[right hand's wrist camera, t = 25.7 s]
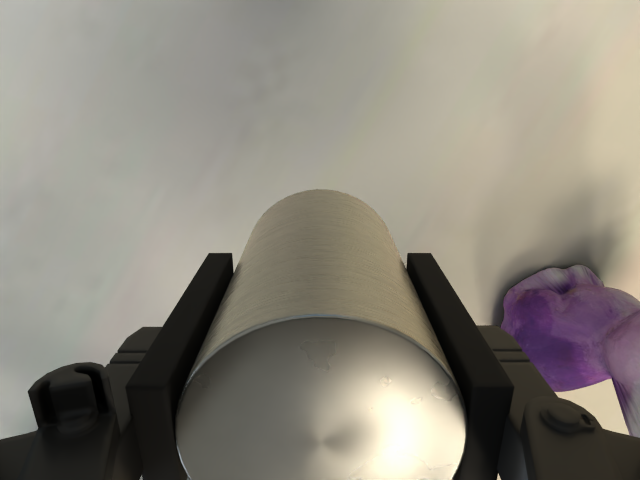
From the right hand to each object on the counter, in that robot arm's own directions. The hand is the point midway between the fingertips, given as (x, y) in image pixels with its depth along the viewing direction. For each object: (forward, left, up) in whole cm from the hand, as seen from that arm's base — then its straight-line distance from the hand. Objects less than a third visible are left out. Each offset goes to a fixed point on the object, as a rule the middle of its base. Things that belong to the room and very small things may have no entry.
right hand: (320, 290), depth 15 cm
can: (0, 0, -2) cm, 2 cm away
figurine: (-16, -16, -20) cm, 30 cm away
